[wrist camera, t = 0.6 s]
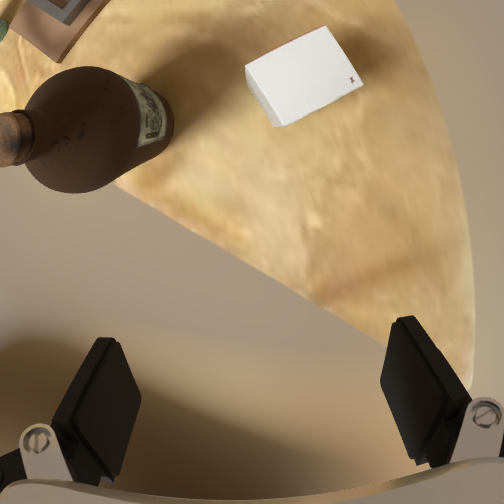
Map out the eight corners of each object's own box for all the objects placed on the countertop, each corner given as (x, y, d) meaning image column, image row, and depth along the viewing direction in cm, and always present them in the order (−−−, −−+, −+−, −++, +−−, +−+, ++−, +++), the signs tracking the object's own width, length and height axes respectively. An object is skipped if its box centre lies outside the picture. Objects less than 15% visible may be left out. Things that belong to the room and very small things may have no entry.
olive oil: (118, 179, 38) (-14, 254, 15) (90, 107, 35) (-60, 114, 11) (191, 147, 37) (104, 185, 14) (162, 70, 33) (47, 11, 10)
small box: (302, 53, 33) (327, 22, 21) (329, 97, 35) (367, 85, 23) (244, 84, 34) (242, 64, 22) (273, 128, 36) (285, 129, 24)
